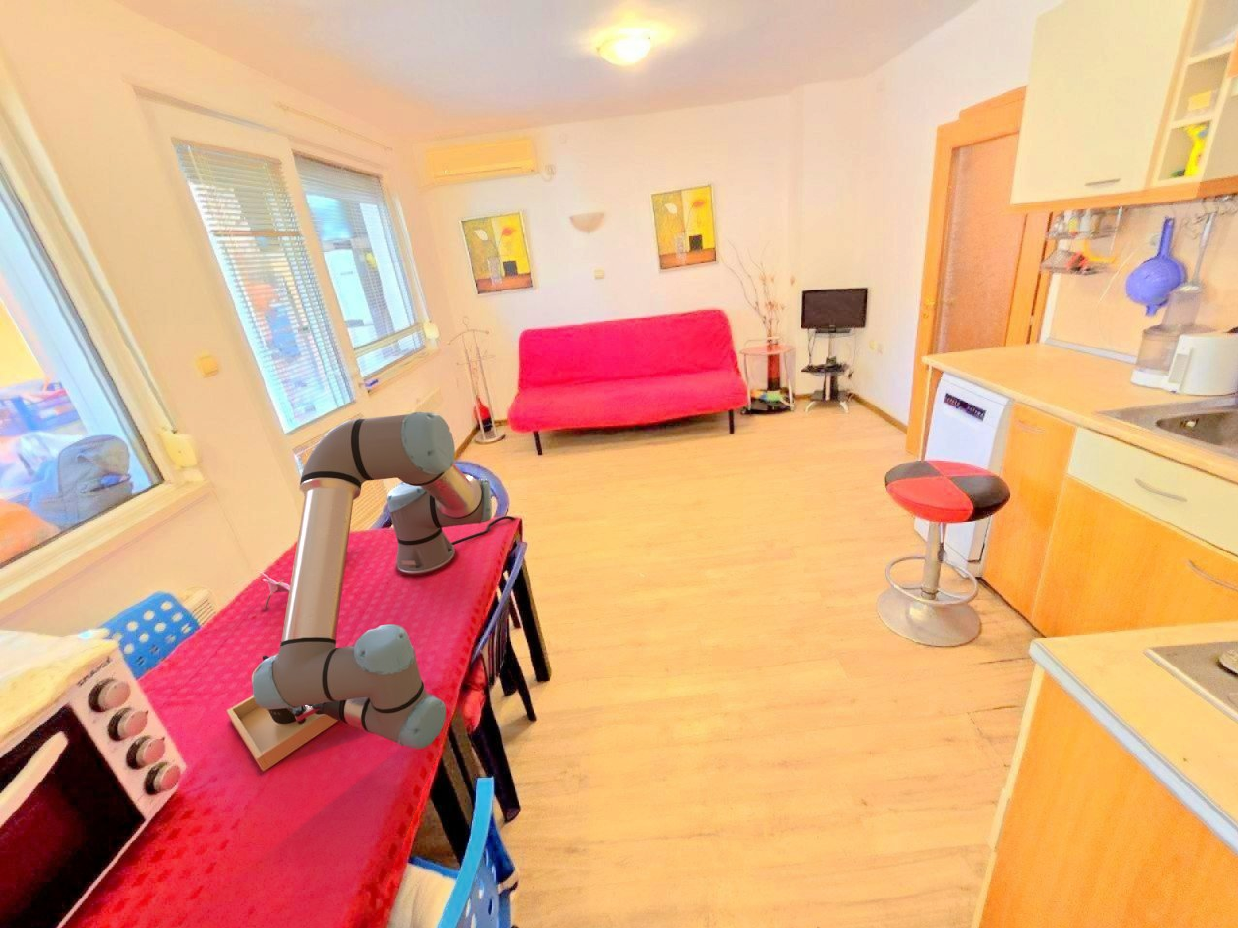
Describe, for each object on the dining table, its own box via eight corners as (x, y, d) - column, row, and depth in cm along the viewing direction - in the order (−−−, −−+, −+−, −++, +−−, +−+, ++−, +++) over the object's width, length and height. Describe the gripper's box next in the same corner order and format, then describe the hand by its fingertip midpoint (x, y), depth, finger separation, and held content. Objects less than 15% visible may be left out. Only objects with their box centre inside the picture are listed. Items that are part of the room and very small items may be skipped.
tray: (335, 660, 106) (331, 649, 105) (373, 696, 96) (369, 684, 95) (232, 722, 93) (226, 710, 92) (263, 771, 83) (256, 758, 81)
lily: (296, 616, 123) (304, 576, 124) (237, 614, 118) (246, 573, 119) (302, 604, 134) (309, 568, 135) (249, 602, 129) (257, 564, 130)
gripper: (331, 751, 80) (238, 712, 89) (398, 686, 91) (309, 658, 101) (317, 716, 77) (222, 680, 86) (388, 653, 89) (297, 627, 98)
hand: (269, 668), depth 93 cm, fingers closed
